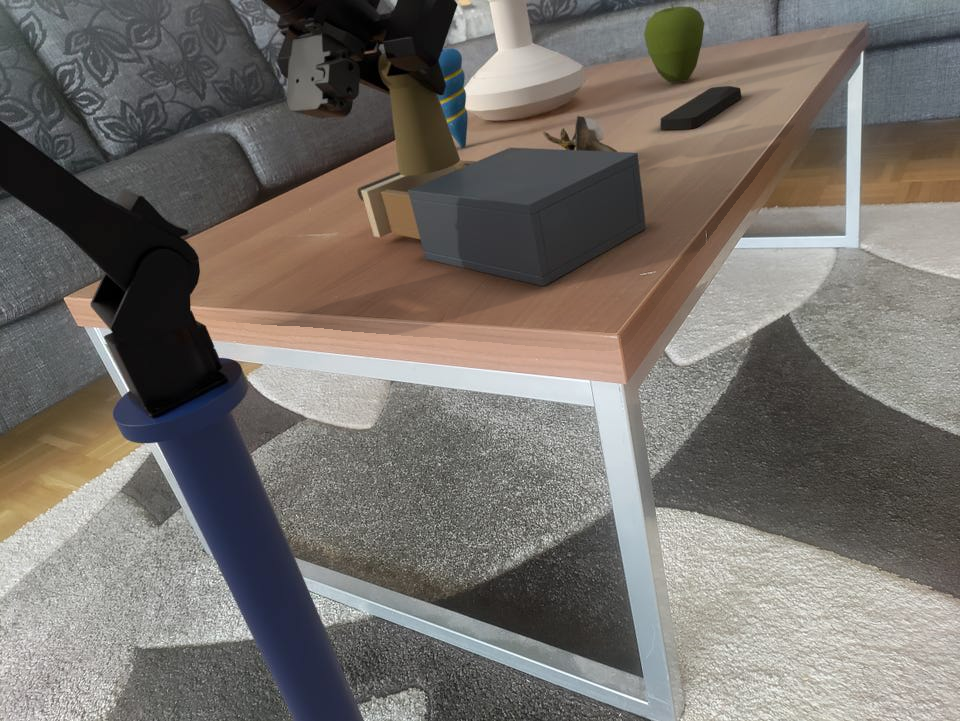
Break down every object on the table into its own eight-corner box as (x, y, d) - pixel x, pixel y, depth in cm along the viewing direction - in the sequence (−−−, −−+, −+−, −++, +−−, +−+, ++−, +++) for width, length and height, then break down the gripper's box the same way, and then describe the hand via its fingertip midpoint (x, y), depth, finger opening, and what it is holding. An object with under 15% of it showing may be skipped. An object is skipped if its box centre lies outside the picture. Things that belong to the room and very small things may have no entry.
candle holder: (563, 120, 111) (540, -24, 102) (446, 134, 120) (416, 4, 111) (604, 89, 126) (587, -39, 117) (497, 104, 135) (474, -13, 126)
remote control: (695, 133, 91) (744, 96, 100) (694, 118, 90) (743, 82, 99) (658, 134, 94) (708, 98, 103) (656, 120, 93) (707, 85, 102)
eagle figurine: (532, 167, 86) (565, 164, 78) (550, 105, 85) (585, 95, 77) (589, 187, 89) (627, 187, 80) (607, 127, 88) (647, 120, 79)
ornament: (487, 142, 109) (464, 31, 102) (462, 153, 106) (437, 40, 99) (462, 142, 112) (438, 35, 105) (437, 153, 109) (412, 44, 102)
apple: (639, 90, 119) (631, 12, 114) (670, 77, 123) (664, 1, 118) (686, 88, 113) (680, 5, 107) (717, 74, 117) (713, -7, 112)
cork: (408, 179, 70) (377, 54, 65) (392, 169, 75) (363, 53, 70) (468, 162, 71) (442, 38, 66) (449, 153, 76) (424, 38, 71)
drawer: (349, 231, 80) (336, 187, 78) (432, 195, 86) (422, 153, 83) (463, 255, 66) (450, 202, 63) (553, 210, 71) (545, 160, 69)
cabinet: (425, 259, 70) (407, 190, 67) (522, 212, 76) (510, 147, 73) (543, 286, 58) (528, 204, 55) (646, 228, 65) (637, 152, 62)
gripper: (198, 83, 64) (332, 171, 76) (339, 62, 52) (471, 170, 64) (243, -33, 65) (367, 72, 77) (390, -78, 54) (510, 53, 66)
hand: (423, 92), depth 71 cm, fingers closed on cork, 5 cm apart
